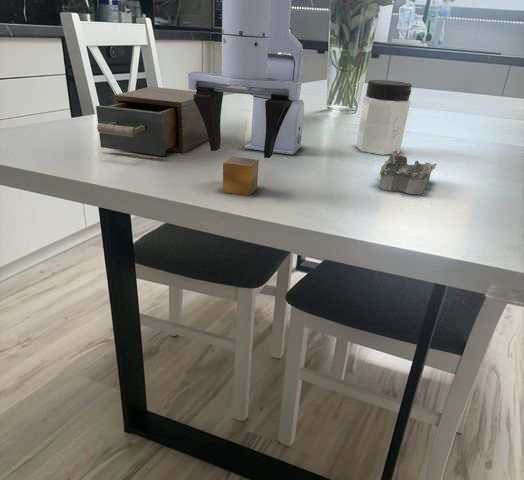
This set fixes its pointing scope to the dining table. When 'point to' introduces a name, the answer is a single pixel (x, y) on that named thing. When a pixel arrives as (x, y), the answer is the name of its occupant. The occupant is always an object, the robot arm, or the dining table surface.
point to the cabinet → (188, 113)
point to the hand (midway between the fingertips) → (241, 153)
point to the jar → (383, 116)
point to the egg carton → (404, 175)
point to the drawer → (138, 127)
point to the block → (240, 175)
